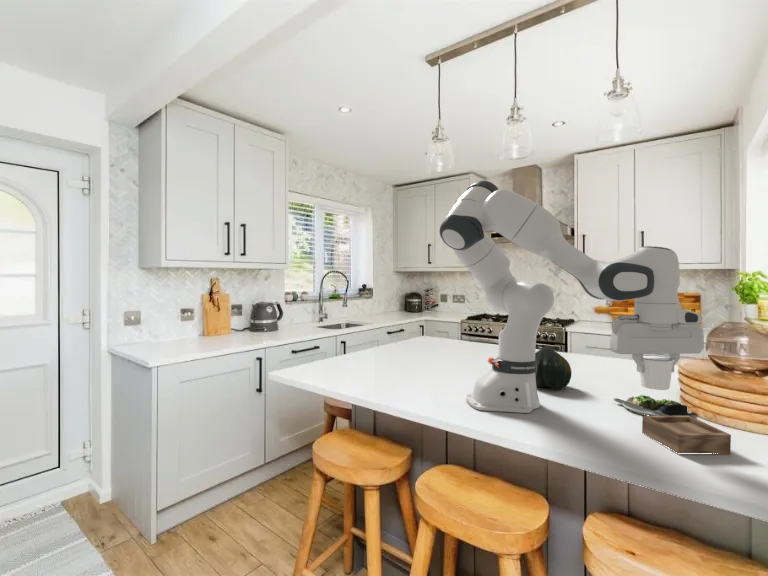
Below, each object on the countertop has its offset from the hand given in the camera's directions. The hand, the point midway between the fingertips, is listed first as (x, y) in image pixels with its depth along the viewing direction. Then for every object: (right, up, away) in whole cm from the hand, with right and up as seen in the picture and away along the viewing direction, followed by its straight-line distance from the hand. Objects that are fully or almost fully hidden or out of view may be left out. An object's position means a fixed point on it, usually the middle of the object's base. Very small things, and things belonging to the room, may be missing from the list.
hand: (655, 371), depth 94 cm
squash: (-6, -16, +48) cm, 51 cm away
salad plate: (+17, -17, +23) cm, 33 cm away
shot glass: (0, -4, 0) cm, 4 cm away
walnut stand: (+7, -17, +1) cm, 19 cm away
